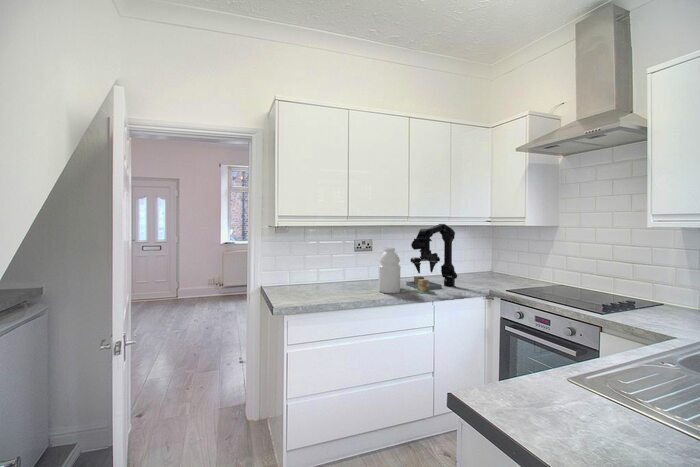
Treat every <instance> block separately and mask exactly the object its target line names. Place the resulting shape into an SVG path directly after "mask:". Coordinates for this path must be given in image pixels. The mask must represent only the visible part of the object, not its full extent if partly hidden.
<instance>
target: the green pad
mask: <svg viewBox="0 0 700 467" xmlns="http://www.w3.org/2000/svg"><path fill="white" fill-rule="evenodd" d="M412 292H414V293H416V294H417V293H418V294H420V295H422V294H435V293H436V292H435V291H433V290H431V289H429V292H420V291H418V289H412Z"/></svg>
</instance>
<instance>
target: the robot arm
mask: <svg viewBox="0 0 700 467" xmlns="http://www.w3.org/2000/svg"><path fill="white" fill-rule="evenodd" d="M437 233H439V234H440V235H441V239H442V240H443V242H444V243H443V244H444V247H443V248H444V250H443V251H444V252H443V253H444V255H443V258H444V260H443V262H444V263H443V264H442V265H441V266H440V272H441V276H442V278H444V279H443V285H442V286H443V287H447V288H453V287H454V288H457V287H456V286H457V285H456V284H455V282H456V281H455V280H456V279H457V278H458V274H457V272H456V271H455V266H454V265H453V263H452V262H453V253H452V252H453V250H452V249H453V241H454V240H455V234H456V232H455V230H454V229H453V228H452V227H450V226H448V225H447V224H445V223H439V224H437V225H434V226H431V227H430V228H421V229H419V231H418V233H417V235H416V238H413V241H412V242H411V248H412V250H414V251H415V250H419V253H420V255H419V257H416V256H415V257H411V258H410V263H412V264H413V265H414V266H415V268H416V271H417V274H421V264H422V263H421V262H429V270H430V273H433V271H434V269H435V266H436V265H437V264H438V263H439V262H440V261H441V258H440V256H439V255H438V253H437V252H434V253H432V250H431V247H430V246H431V245H430V244H431V243H430V242H432V239H431V238H432V237H433V235H435V234H437Z"/></svg>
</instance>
